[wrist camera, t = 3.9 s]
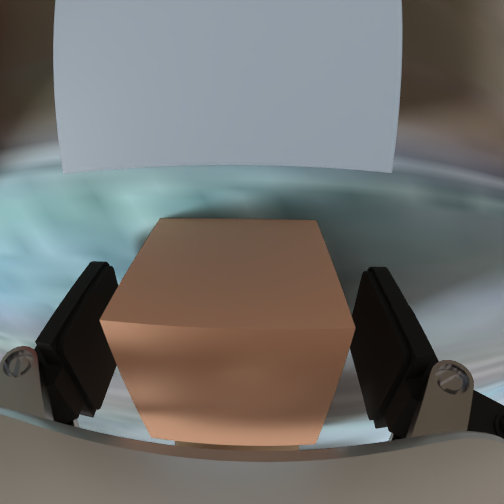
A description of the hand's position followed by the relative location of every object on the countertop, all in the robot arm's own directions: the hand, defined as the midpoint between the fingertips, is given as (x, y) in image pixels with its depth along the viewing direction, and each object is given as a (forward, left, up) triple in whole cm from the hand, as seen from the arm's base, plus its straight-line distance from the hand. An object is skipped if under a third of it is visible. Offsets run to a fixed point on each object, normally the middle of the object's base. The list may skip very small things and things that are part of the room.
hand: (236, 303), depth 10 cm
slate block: (+5, -6, -1) cm, 8 cm away
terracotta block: (0, 0, -1) cm, 1 cm away
